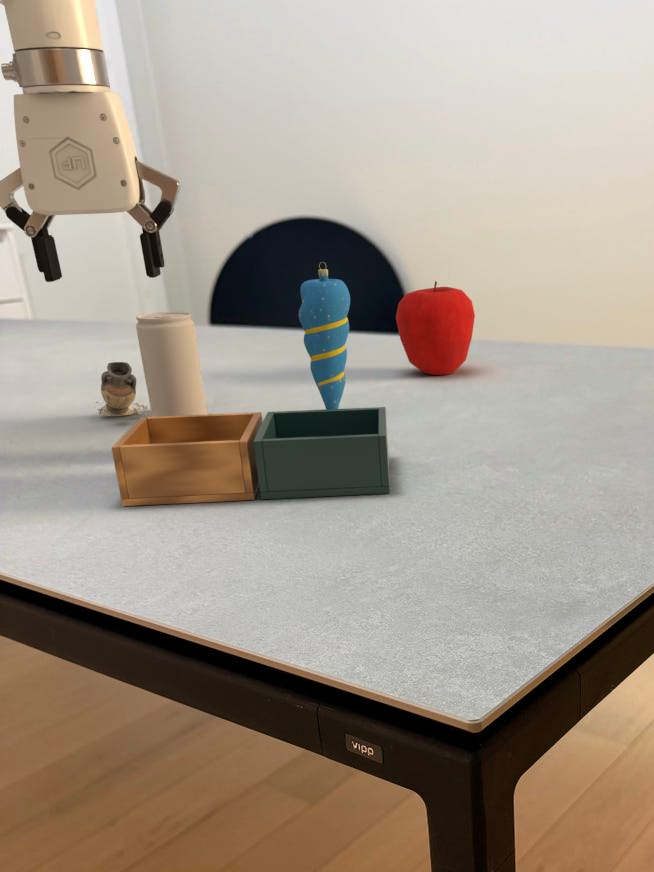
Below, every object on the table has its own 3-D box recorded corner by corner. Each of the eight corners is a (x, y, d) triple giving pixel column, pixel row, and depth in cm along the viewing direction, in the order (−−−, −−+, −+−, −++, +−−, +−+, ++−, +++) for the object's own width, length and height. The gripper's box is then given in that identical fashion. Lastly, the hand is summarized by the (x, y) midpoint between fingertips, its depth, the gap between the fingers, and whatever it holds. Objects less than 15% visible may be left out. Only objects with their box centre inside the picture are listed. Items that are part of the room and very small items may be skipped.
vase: (152, 422, 98) (142, 362, 96) (96, 427, 97) (84, 367, 94) (150, 411, 103) (140, 354, 100) (97, 416, 101) (85, 358, 99)
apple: (429, 363, 125) (425, 275, 121) (491, 369, 121) (489, 278, 116) (383, 376, 118) (377, 283, 113) (447, 383, 113) (443, 286, 108)
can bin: (260, 499, 74) (253, 441, 72) (273, 464, 83) (267, 411, 81) (389, 493, 75) (386, 435, 72) (388, 459, 83) (385, 406, 81)
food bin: (122, 506, 73) (110, 447, 71) (150, 470, 82) (141, 416, 80) (254, 500, 74) (246, 441, 72) (267, 465, 83) (261, 412, 81)
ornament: (321, 410, 102) (307, 259, 95) (366, 412, 100) (355, 259, 94) (301, 421, 97) (284, 264, 90) (348, 423, 96) (335, 264, 89)
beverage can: (173, 462, 84) (149, 320, 79) (149, 452, 87) (124, 315, 82) (222, 452, 87) (202, 314, 82) (197, 442, 90) (176, 310, 85)
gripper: (-52, 76, 82) (0, 286, 90) (153, 70, 83) (186, 278, 91) (-19, 82, 89) (27, 277, 96) (170, 77, 90) (200, 270, 97)
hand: (104, 278), depth 94 cm, fingers open, 9 cm apart
